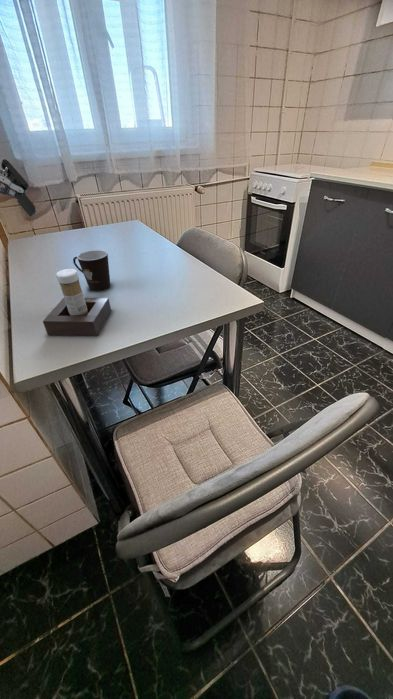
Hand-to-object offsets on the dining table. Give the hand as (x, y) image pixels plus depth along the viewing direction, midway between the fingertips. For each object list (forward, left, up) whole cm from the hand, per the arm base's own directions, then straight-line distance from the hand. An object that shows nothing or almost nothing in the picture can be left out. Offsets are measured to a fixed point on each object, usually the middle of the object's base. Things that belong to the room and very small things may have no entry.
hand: (15, 221), depth 58 cm
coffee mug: (+25, -3, -25) cm, 35 cm away
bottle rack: (+3, -6, -25) cm, 26 cm away
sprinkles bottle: (+3, -6, -25) cm, 26 cm away
